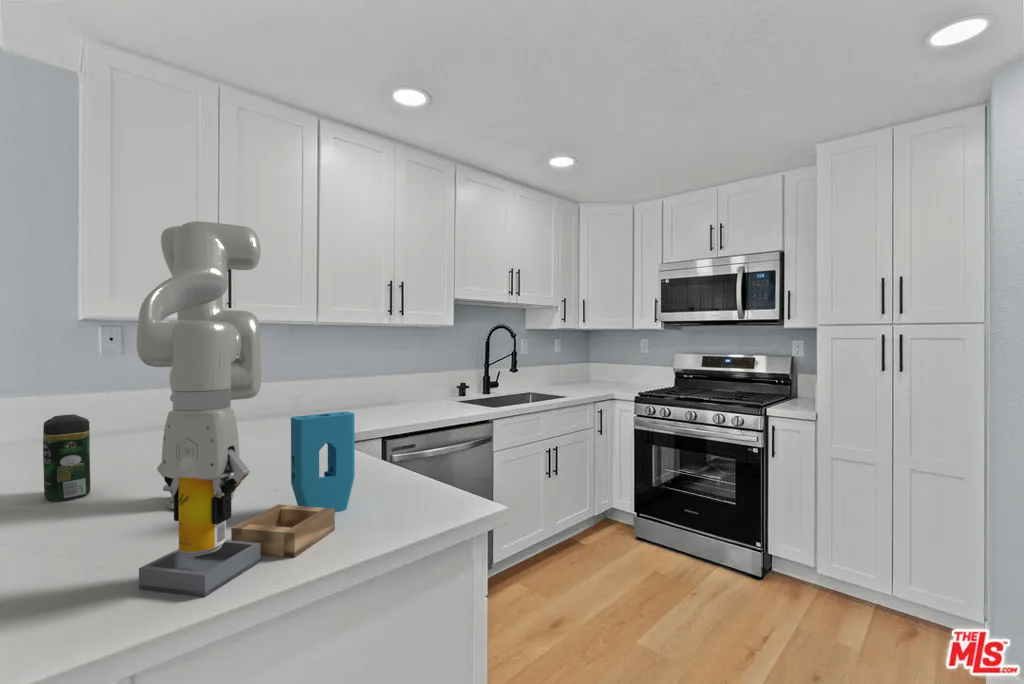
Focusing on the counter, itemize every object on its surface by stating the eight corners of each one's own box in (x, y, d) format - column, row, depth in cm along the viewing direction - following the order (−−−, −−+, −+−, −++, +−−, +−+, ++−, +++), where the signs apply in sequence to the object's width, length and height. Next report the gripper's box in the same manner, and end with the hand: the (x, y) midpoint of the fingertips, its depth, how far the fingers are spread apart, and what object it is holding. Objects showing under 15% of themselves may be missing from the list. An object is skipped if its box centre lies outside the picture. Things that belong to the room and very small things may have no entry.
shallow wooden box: (231, 551, 84) (231, 527, 84) (278, 525, 95) (278, 504, 95) (294, 557, 81) (294, 533, 81) (334, 529, 93) (334, 508, 93)
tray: (139, 588, 71) (138, 568, 71) (201, 555, 82) (201, 537, 82) (205, 596, 69) (204, 575, 69) (260, 561, 80) (260, 543, 80)
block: (297, 520, 98) (297, 419, 98) (289, 514, 101) (289, 416, 101) (356, 507, 105) (356, 413, 105) (347, 501, 109) (346, 411, 109)
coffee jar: (41, 495, 113) (41, 415, 113) (87, 488, 119) (86, 411, 119) (45, 505, 107) (44, 419, 107) (93, 496, 113) (92, 415, 112)
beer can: (193, 541, 78) (192, 446, 78) (233, 540, 78) (232, 445, 78) (169, 558, 72) (169, 455, 72) (213, 556, 72) (212, 454, 72)
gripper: (132, 403, 73) (132, 524, 73) (233, 406, 70) (233, 533, 70) (175, 397, 81) (176, 507, 81) (269, 399, 77) (269, 515, 77)
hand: (202, 518), depth 75 cm, fingers closed on beer can, 6 cm apart
